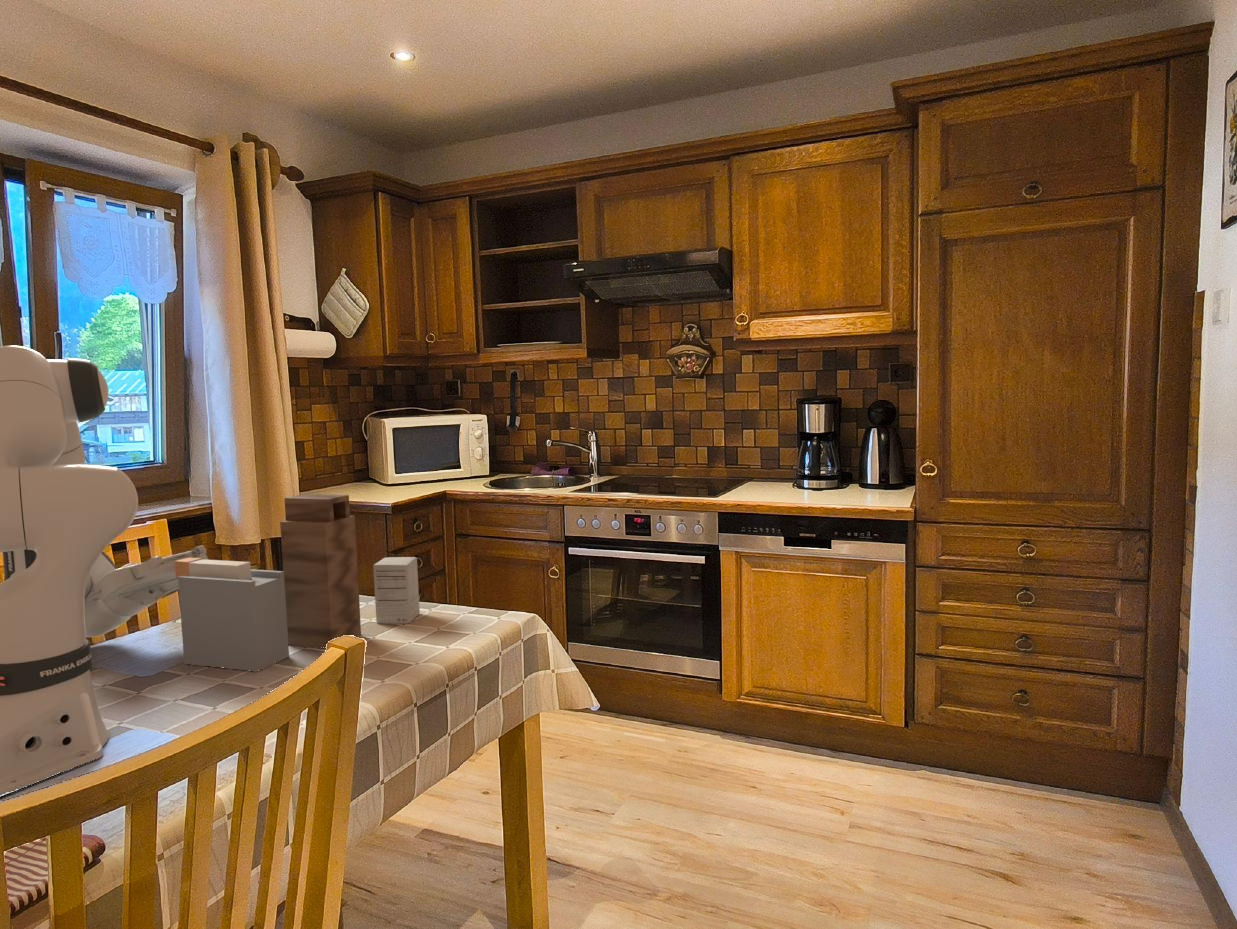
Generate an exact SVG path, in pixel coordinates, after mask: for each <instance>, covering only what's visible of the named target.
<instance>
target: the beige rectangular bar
mask: <svg viewBox="0 0 1237 929" xmlns="http://www.w3.org/2000/svg"><path fill="white" fill-rule="evenodd" d="M251 569H252V566H251V561H236V560H222V559H221V560H219V559H208V560H204V559H202V558H190V557H189V558H185V559H181V560H177V561H175V574H176V579H178V577H180V576H195V577H209V578H224V579H239V580H248V579H251Z"/></svg>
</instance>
